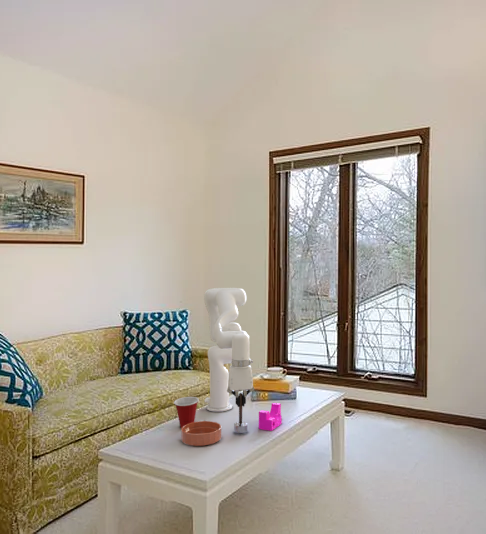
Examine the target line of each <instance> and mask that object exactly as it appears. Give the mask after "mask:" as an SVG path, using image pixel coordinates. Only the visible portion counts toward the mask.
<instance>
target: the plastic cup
mask: <svg viewBox="0 0 486 534" xmlns="http://www.w3.org/2000/svg"><path fill="white" fill-rule="evenodd" d="M199 400H200V399H199V397H197V396H184V397H180V398H178V399H175V400H174V401H173V404H174V405H175V409H176V412H177V416H178V417H177V418H178V421H179V427H180V429H181V428H182V427H183V426H184V425H186V424H189V423H192V422H195V421H196V413H197V408H198V403H199Z"/></svg>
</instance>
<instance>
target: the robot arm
mask: <svg viewBox="0 0 486 534" xmlns="http://www.w3.org/2000/svg"><path fill="white" fill-rule="evenodd" d="M203 300H204V305H205V308H206V310H207V314H208V321H209V322H208V323H209V324H208V325H209V326H208V327H209V338H210V340H211V341H212V342H213V343H216V344H215V345H211V346H210V347H209V348H208V349H207V358H208V360H207V361H208V366H209V397H205V399H204V403H205V404H207V405H206V410H207V411H209V412H213V413H214V412H215V413H220V412H227V411H231V409H233V404H232V403H230V394H231V395H233V396H234V397H235V405H236V406H237V407H238V408H239V407H240V398H239V391H242V408H244V407H245V405H246V403H247V402H246V401H247V396H248V395H249V394H250V393H252V392H254V391H255V387H254V379H253V377H254V376H253V369H252V365H251V364H253V363H254V360H253V359H251V358H250V356H251V355H250V352H251V351H250V345H251V344H250V335H249V334H248V332H247V331H245V330H242V327H241V325H240V324H239V323H238V322H234V321H236V320H237V319H238V317H239V311H238V310H239V309H238V307H242V306H245V305H246V302H247V293H246V291H245V290H244V289H243V288H239V287H215V288H214V287H213V288H208V289H207V290H206V291H205V292H204V294H203ZM228 364H231V365H229V368H228V369H229V370H228V369H227V367H226V366H225V365H228Z"/></svg>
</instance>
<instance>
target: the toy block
mask: <svg viewBox="0 0 486 534" xmlns="http://www.w3.org/2000/svg"><path fill="white" fill-rule="evenodd" d="M270 405H271V406H270V410H264V409H263V410H262V409H261V410H259V411H258V429H259V430H263V431H270V432H272V431H274V430H275V429H277V428H278V427H279V426H281V425H282V423H283V421H282V403H278V402H272V403H271V404H270Z"/></svg>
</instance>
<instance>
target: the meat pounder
mask: <svg viewBox="0 0 486 534" xmlns="http://www.w3.org/2000/svg"><path fill="white" fill-rule="evenodd" d="M242 394H243V392H238V395H239V398H240V407H238V421H236V422H235V423H233V432H235V433H237V434H242V433H243V434H244V433H246V432H247V431H248V423H247V422H245V421H243V406H242Z"/></svg>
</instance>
